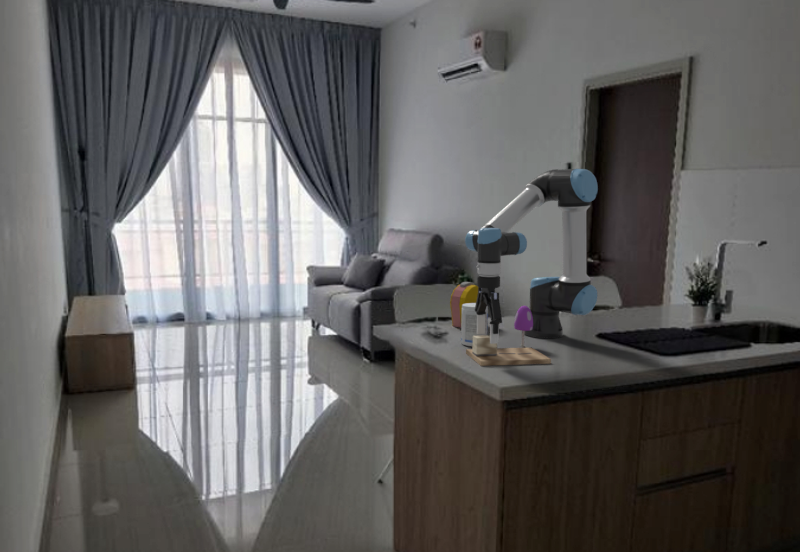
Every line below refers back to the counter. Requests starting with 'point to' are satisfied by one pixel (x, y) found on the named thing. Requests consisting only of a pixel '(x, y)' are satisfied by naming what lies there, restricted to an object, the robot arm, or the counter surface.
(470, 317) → the supplement tub
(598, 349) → the counter surface
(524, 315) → the toy
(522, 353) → the board
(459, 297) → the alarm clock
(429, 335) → the counter surface
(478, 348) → the block
